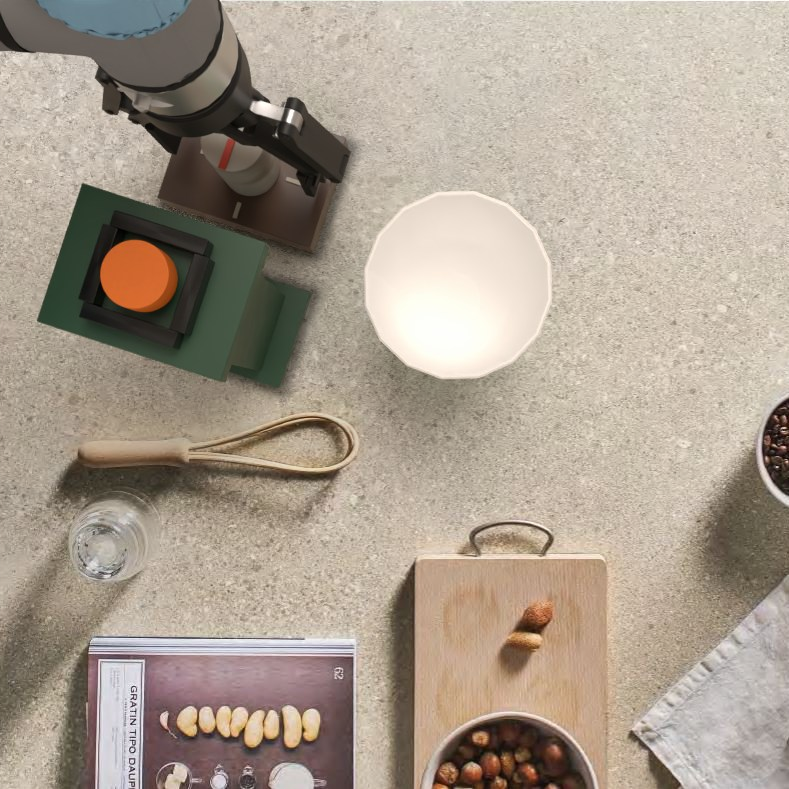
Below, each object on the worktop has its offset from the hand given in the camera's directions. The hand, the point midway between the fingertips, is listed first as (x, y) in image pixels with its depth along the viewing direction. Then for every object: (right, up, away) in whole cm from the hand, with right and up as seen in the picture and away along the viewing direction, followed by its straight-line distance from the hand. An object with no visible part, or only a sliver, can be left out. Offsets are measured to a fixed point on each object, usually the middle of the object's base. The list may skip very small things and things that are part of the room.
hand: (245, 159), depth 74 cm
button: (-2, -13, -21) cm, 25 cm away
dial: (0, 0, +2) cm, 2 cm away
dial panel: (0, 0, +5) cm, 5 cm away
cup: (+17, -12, +5) cm, 22 cm away
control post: (-2, -13, +5) cm, 14 cm away
